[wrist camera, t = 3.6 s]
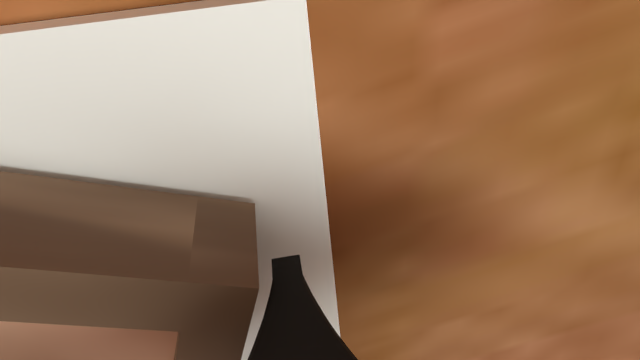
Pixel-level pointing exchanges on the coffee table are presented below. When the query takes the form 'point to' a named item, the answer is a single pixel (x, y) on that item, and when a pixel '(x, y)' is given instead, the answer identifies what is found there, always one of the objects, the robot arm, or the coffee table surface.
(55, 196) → the wooden tray
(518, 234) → the coffee table surface
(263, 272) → the wall board
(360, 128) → the coffee table surface
